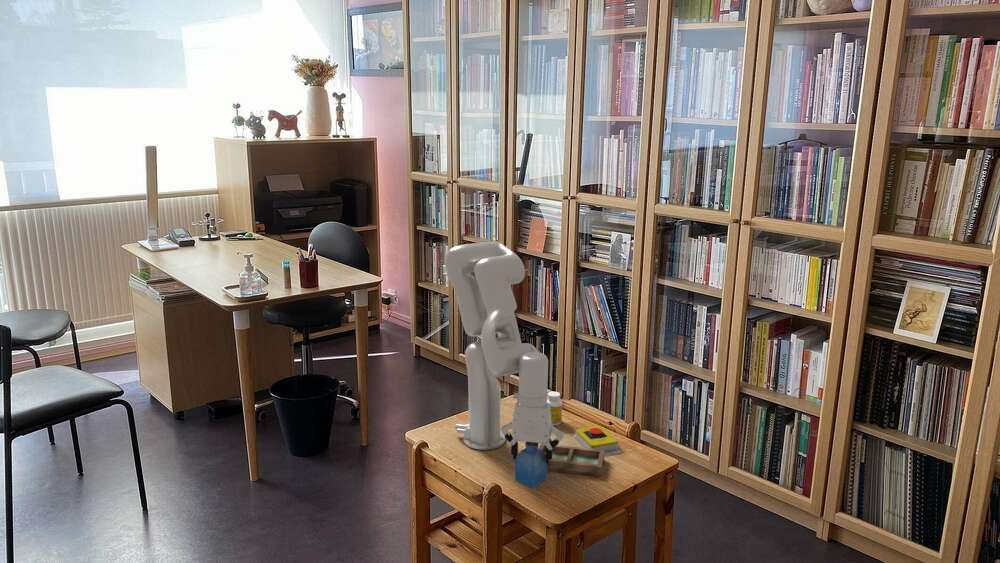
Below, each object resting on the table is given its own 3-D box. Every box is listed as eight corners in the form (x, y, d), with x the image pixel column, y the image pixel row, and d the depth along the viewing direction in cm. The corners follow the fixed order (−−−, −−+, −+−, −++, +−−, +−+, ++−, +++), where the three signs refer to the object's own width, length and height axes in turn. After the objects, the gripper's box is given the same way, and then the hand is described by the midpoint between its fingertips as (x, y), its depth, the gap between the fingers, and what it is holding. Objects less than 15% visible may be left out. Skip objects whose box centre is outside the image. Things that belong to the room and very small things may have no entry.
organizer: (534, 468, 201) (534, 459, 200) (540, 452, 210) (541, 442, 210) (600, 477, 197) (601, 467, 196) (604, 459, 206) (604, 450, 205)
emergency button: (599, 419, 223) (623, 440, 210) (598, 432, 224) (623, 454, 211) (572, 423, 220) (595, 445, 206) (571, 437, 221) (594, 459, 208)
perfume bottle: (528, 471, 199) (529, 431, 196) (547, 478, 196) (548, 438, 193) (514, 480, 195) (515, 439, 192) (533, 488, 191) (534, 446, 188)
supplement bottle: (544, 425, 228) (545, 397, 225) (544, 418, 233) (545, 390, 230) (561, 426, 227) (562, 397, 225) (561, 418, 233) (562, 390, 230)
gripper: (497, 401, 188) (496, 461, 192) (563, 408, 184) (561, 470, 188) (503, 390, 195) (503, 449, 199) (567, 396, 191) (565, 456, 195)
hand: (531, 458), depth 194 cm, fingers closed on perfume bottle, 8 cm apart
